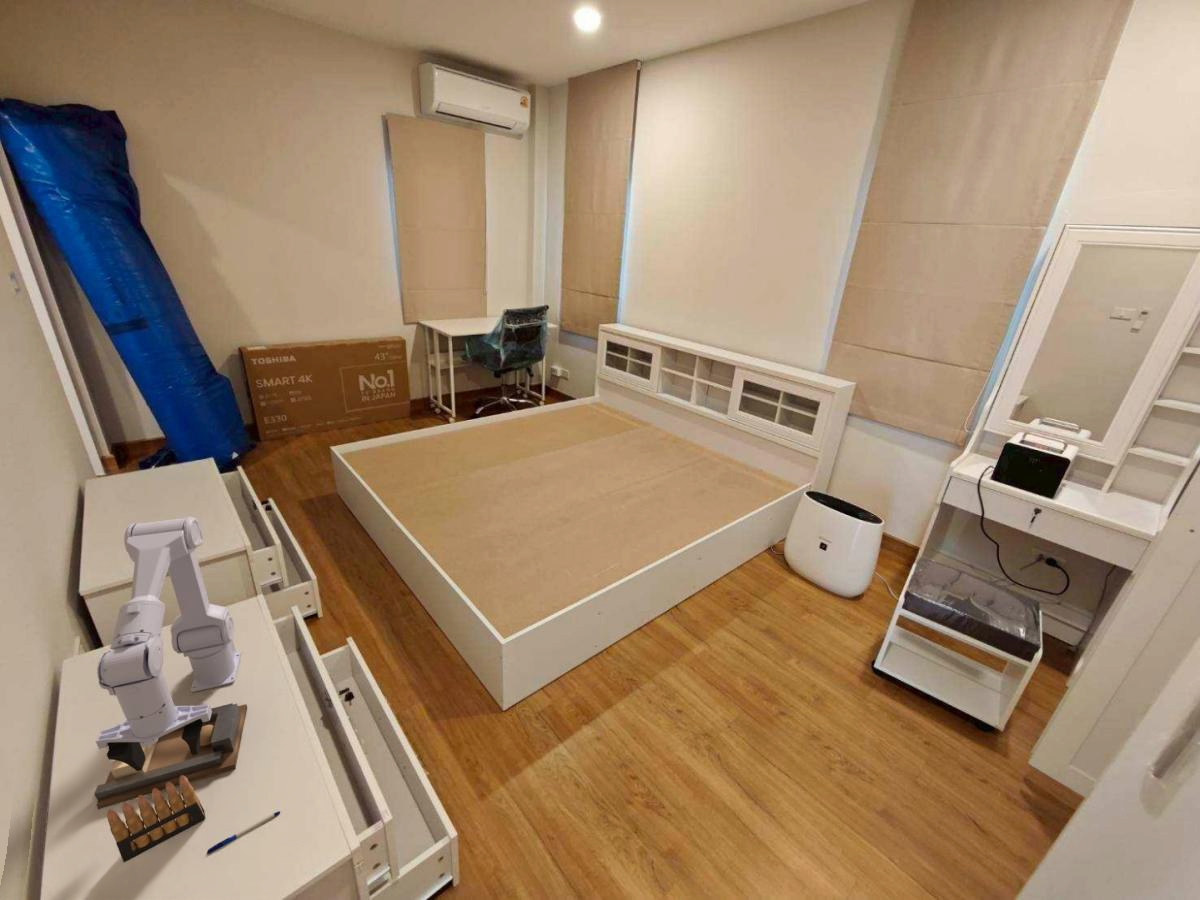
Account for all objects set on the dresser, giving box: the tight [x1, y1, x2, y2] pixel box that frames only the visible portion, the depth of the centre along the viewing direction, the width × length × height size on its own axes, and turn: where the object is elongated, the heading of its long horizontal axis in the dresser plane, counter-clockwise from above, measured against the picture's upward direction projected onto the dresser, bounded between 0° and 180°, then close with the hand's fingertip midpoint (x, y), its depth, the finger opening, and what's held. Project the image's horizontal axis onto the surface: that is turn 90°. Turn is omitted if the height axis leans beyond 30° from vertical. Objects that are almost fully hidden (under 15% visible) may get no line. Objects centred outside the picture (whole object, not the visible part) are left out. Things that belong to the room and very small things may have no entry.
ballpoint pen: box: [206, 810, 281, 855], centre depth 86 cm, size 10×1×1 cm, turn 132°
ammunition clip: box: [106, 775, 206, 863], centre depth 82 cm, size 11×2×12 cm, turn 130°
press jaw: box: [110, 742, 157, 780], centre depth 92 cm, size 8×4×9 cm, turn 25°
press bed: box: [93, 702, 248, 810], centre depth 96 cm, size 14×20×5 cm
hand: (169, 757), depth 87 cm, fingers open, 7 cm apart
